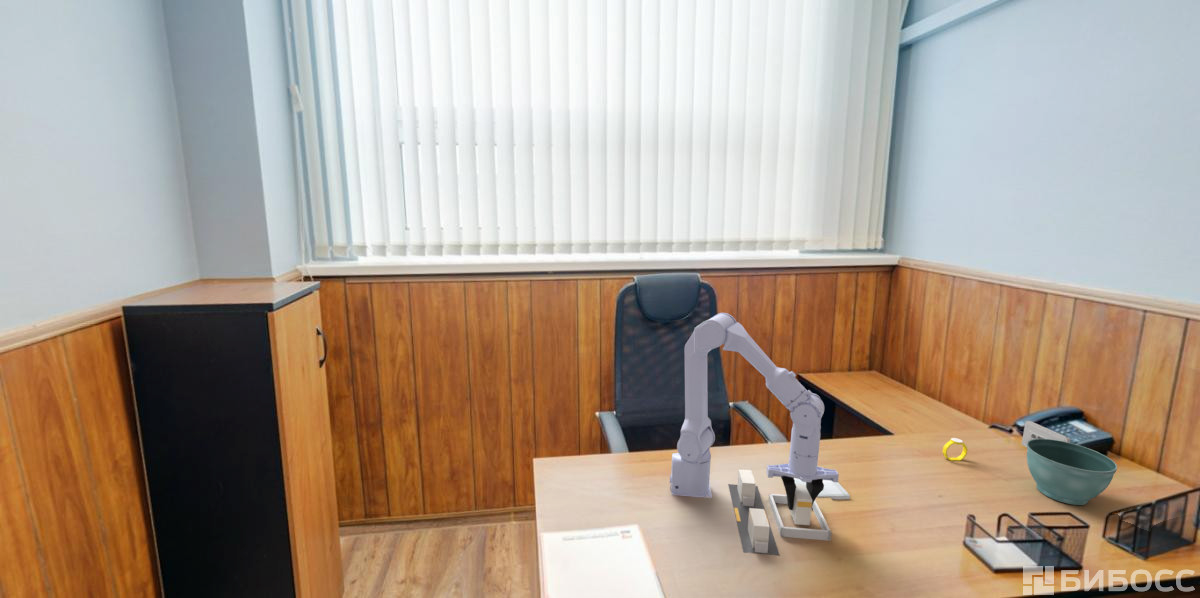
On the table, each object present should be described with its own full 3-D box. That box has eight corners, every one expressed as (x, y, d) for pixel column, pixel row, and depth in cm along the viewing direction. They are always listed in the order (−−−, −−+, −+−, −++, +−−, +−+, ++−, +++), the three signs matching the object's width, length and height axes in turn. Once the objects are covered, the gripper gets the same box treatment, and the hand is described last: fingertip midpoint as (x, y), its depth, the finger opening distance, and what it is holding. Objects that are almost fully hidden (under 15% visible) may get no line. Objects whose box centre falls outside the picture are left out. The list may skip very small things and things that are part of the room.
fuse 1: (740, 502, 120) (742, 482, 120) (737, 488, 126) (738, 469, 125) (754, 503, 120) (755, 483, 119) (749, 489, 126) (751, 470, 125)
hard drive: (798, 496, 123) (850, 494, 123) (785, 477, 131) (833, 476, 131) (798, 502, 123) (849, 501, 124) (784, 483, 131) (833, 482, 132)
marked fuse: (795, 524, 111) (797, 498, 109) (788, 507, 117) (790, 483, 115) (809, 525, 110) (812, 500, 109) (802, 508, 116) (804, 484, 115)
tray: (780, 538, 109) (781, 528, 108) (768, 503, 121) (769, 493, 121) (830, 543, 108) (831, 532, 107) (812, 506, 120) (813, 496, 120)
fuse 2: (752, 547, 105) (754, 525, 104) (747, 529, 111) (749, 508, 110) (767, 549, 105) (769, 526, 104) (762, 530, 110) (763, 509, 109)
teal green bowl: (1090, 486, 130) (1099, 446, 128) (1121, 522, 116) (1131, 477, 114) (1011, 471, 137) (1018, 433, 135) (1031, 503, 122) (1039, 461, 120)
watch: (959, 458, 144) (964, 438, 143) (967, 463, 142) (971, 443, 140) (938, 456, 144) (943, 436, 143) (945, 461, 141) (950, 441, 140)
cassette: (1019, 444, 152) (1024, 420, 151) (1025, 444, 152) (1029, 419, 151) (1061, 465, 141) (1066, 439, 139) (1066, 464, 141) (1072, 438, 139)
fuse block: (743, 554, 104) (744, 543, 103) (728, 486, 128) (728, 476, 128) (779, 557, 103) (780, 546, 102) (757, 488, 127) (757, 478, 127)
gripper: (773, 457, 108) (768, 516, 111) (846, 462, 106) (839, 521, 109) (766, 441, 115) (762, 497, 118) (834, 446, 113) (828, 502, 116)
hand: (798, 508), depth 114 cm, fingers closed on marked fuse, 3 cm apart
